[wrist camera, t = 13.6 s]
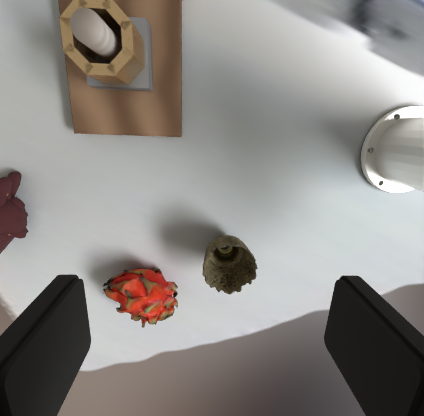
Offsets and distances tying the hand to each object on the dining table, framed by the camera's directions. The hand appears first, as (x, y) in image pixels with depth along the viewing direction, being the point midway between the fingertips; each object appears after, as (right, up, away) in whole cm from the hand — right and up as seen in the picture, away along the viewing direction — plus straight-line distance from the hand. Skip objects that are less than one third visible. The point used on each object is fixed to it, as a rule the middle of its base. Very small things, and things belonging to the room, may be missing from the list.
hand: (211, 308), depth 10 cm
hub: (-11, +21, +19) cm, 31 cm away
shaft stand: (-11, +23, +24) cm, 35 cm away
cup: (+2, -2, +33) cm, 33 cm away
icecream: (-30, +3, +30) cm, 42 cm away
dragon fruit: (-11, -9, +34) cm, 37 cm away
